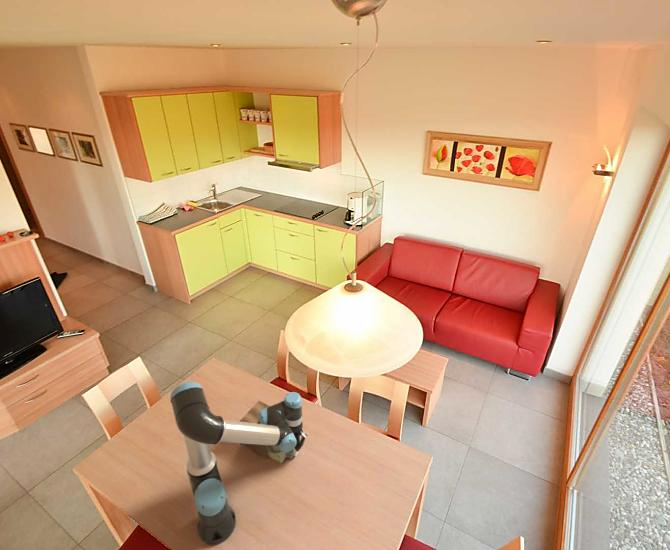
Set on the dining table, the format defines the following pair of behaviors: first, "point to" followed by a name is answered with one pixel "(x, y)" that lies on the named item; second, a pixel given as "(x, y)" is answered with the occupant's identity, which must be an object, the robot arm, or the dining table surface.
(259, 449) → the cubby
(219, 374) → the dining table surface
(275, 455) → the tray
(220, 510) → the robot arm
